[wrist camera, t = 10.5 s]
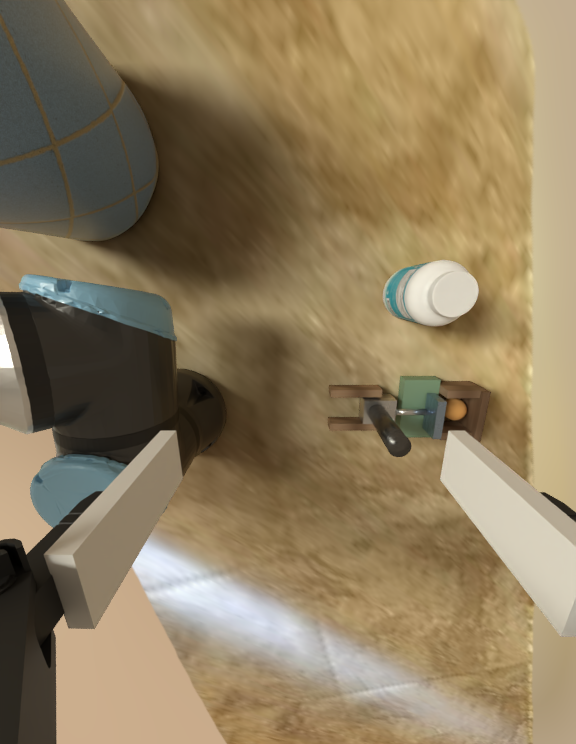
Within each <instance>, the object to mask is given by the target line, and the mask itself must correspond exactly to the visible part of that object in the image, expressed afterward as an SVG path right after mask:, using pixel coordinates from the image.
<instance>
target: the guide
mask: <svg viewBox="0 0 576 744" xmlns="http://www.w3.org/2000/svg"><path fill="white" fill-rule="evenodd" d="M329 393H330V396H331V397H382V389H381V388H380V387H379V386H378V385H329ZM328 425H329V429H330V430H376V429H375V427H374V425H373V424H363V423H362V421H361V419H360V417H328Z"/></svg>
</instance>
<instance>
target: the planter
mask: <svg viewBox="0 0 576 744" xmlns="http://www.w3.org/2000/svg"><path fill="white" fill-rule="evenodd" d="M158 171H159V160H158V154H157V150H156V147H155V144H154V141H153V137H152V134H151V131H150V128H149V126H148V123H147V120H146V118H145V116H144V113H143V111H142V109H141V107H140V106H139V104H138V102H137V100H136V99H135V97H134V95H133V94H132V92H131V91H130V89H129V88H128V87H127V85H126V84H125V83H124V81H123V80H122V79H121V77H120V76H119V75H118V73H117V72H116V71H115V69H114V68H113V67H112V65H111V64H110V63H109V61H108V60H107V59H106V57H105V56H104V55H103V53H102V52H101V51H100V49H99V48H98V46H97V45H96V44H95V42H94V41H93V40H92V38H91V37H90V36H89V34H88V33H87V32H86V30H85V29H84V27H83V26H82V25H81V23H80V22H79V21H78V19H77V18H76V16H75V15H74V14H73V12H72V11H71V10H70V8H69V7H68V5H67V4H66V3H65V1H64V0H0V228H6V229H13V230H20V231H26V232H33V233H39V234H45V235H51V236H57V237H63V238H69V239H75V240H83V241H104V240H108V239H111V238H114V237H116V236H118V235H120V234H122V233H123V232H125V231H126V230H128V229H129V228H130V227H131V226H133V225H134V224H135V223H136V222H137V220H138V219H139V218H140V217H141V215H142V214H143V213H144V211H145V209H146V207H147V206H148V204H149V202H150V199H151V197H152V194H153V192H154V189H155V186H156V182H157V178H158Z"/></svg>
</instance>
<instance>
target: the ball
mask: <svg viewBox="0 0 576 744" xmlns="http://www.w3.org/2000/svg"><path fill="white" fill-rule="evenodd" d="M445 401H446V402H447V405H446V411H445V417H446V418H448V419H450V420H460V419H462V418H463V417H464V416H465V415H466V413H467V407H466V405H465V403H464V402H463V401H462V400H460V399H458V398H449V399H446V400H445Z"/></svg>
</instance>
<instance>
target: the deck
mask: <svg viewBox="0 0 576 744" xmlns="http://www.w3.org/2000/svg"><path fill="white" fill-rule="evenodd" d="M440 383H441V380H440V379H438V378H437V377H435V376H400V385H399V394H398V404H397V409H425V404H426V397H427V393H436V394H437V395H438V396H439V389H440ZM423 419H424V415H396V424H397V425H398V426H399V428H400V429H401V430H402V432H403V433H404V434H405V436H406V437H431V436H430V435H429V434H428V433H427V432H426V431H425V430H424V429H423V428H422V426H423Z"/></svg>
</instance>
